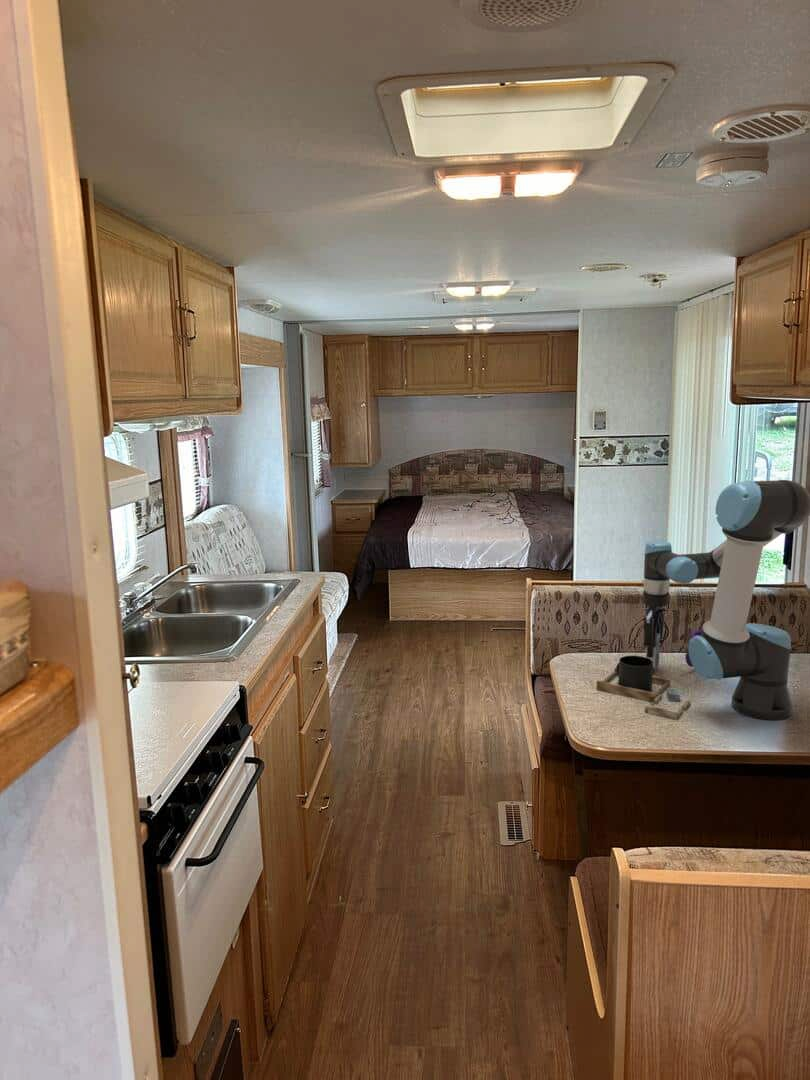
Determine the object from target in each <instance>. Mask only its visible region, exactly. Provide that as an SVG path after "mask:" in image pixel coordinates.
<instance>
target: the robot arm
mask: <svg viewBox="0 0 810 1080" xmlns="http://www.w3.org/2000/svg"><path fill="white" fill-rule="evenodd" d="M715 514H716V515H717V516H716V520H717V523H718V524H719V526H720V527H721V533H722V534H723V535H724V536H725V538H726V539H725V540H724V541H723V542H721V543H720V544H719V545H718V546H716V547H714V549H712V550H711V551H709V552H700V553H699V552H698V553H685V554H682V553H681V554H678V553H675V552H673V549H672V544H671V542H669V541H666V540H665V541H664V540H650V541H647V542H646V544H645V550H644V551H645V552H644V560H643V561H644V564H643V565H644V566H643V579H642V583H643V589H642V590H644V591H643V592H642V603H643V605H644V606H645V605H646V606H647V607H648V608H647V610H646V614H645V615H646V616H645V615H644V617H643V623H644V626H643V627H644V631H643V634H644V636H643V644H642V645H643V646H644V647H646V648H645V657H646V658H648V659H650V660H652V661H653V668H654V667H655V657H656V647H655V640H656V633H660V644H663V643H664V640H663V639H664V625H665V615H666V607H667V606H669V599H670V593H669V592H670V586H671V585H670V584H671V583H670V581H673V582H675V583H678V584H683V585H686V584H687V585H688V584H690V583H692V582H693V581H695V580H703V579H717V580H718V581H717V584H716V585H717V586H716V590H715V596H714V600H713V604H712V610H711V615H710V619H709V620H707V621H706V622H704V623H703V624H702V629H701V630H702V632H701V635H700V636H698V635H697V636H695V637H693V638H692V639H691V640H690V639H689V642H688V648H689V656H690V660H691V662H692V665H693V668H694V670H695V672H696V673H697V674H698V676H700V677H701V678H703V679H705V680H719V681H720V680H722V679H729V678H730V679H732V678H739V680H738V683H737V685H736V687H735V688H734V691H733V694H732V696H731V707H732V708H733V709H734V710H735V711H736V712H738V713H740V714H742V715H744V716H747V717H750V718H754V719H759V720H766V719H767V720H768V721H770V720H771V721H773V720H774V721H780V720H785V719H787V718H790V717H791V716H792V715H793V701H792V699H791V694H790V691H789V688H788V680H789V679H788V678H789V671H790V669H789V668H790V658H791V650H792V647H791V645H792V644H791V643H792V642H791V641H792V636H791V635H790V633H789V632H788V631H786V630H784V629H782V628H778V627H776V626H772V625H767V624H763V623H753V622H751V623H749V622H748V617H749V612H750V608H751V603H752V599H753V594H754V590H755V586H756V581H757V576H758V571H759V567H760V563H761V559H762V554H763V550H764V547H765V546H767V545H768V544H770V543H771V542H772V541H774V540H775V539H777V538H778V537H780V536H781V535H783V534H785V535H786V534H790V533H792V532H794V531H795V530H797V529H799V528H800V527H801V526H802V525H803V524H805V522H806V521H807V520H808V519H809V517H810V493H809V491H808V490H807V488H805V487H804V486H803V485H802V484H800V483H798V482H797V481H793V480H790V479H778V480H757V481H753V480H752V481H751V480H744V481H741V482H740V481H738V482H733V483H731V484H729V485H728V486H726V487H725V488H724V489H723V490H722V491H721V492H720V494H719V495H718V498H717V500H716V505H715ZM747 622H748V623H747ZM660 648H661V646H660V647H659V653H660Z"/></svg>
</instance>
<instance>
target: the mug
mask: <svg viewBox="0 0 810 1080" xmlns="http://www.w3.org/2000/svg"><path fill="white" fill-rule="evenodd" d="M615 668H616V670H617V673H618V675H619V676H618V683H617V685H621V686H626V687H630V688H635V689H639V690H644V691H649V692H652V691H653V683H652V678H653V676H654V675H653V674H654V673H653V661H652V660H650V659H648V658H646V656H641V655H625V656H622V657H620V658H619V661H618V663H617V664H616V667H615Z"/></svg>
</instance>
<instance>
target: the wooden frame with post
mask: <svg viewBox="0 0 810 1080" xmlns="http://www.w3.org/2000/svg"><path fill="white" fill-rule="evenodd" d="M655 647H656V657H655V667H654V668H653V674H656V673H657V672H659V664H660V652H659V647H660V648H661V643H660V633H656V640H655ZM616 677H619V675H618V673H617V670H616V667H615V668H614V671H613V672H612V673H611V674H610V675H608V676H606V678H605V679H603V680H597V681H596V691H602V692H605V693H608V694H609V693H610V694H613V695H614V694H615V695H619V696H623V697H626V698H627V697H628V698H633V699H637V700H640V701H645V702H650V703H651V702H654V699H655V698H656V697H657V696H658V695H659V694H662V695H663V693H664V692H665V691H667V688H670V685H671V679H670V678H667V677H661V676H656V675H653V678H652V684H654V685H660V686H661V687H660V688H659V689H657V690H656V692H649V691H644V690H639V689H635V688H630V687H626V686H621V685H618V683H612V682H611V681H612V680H614V679H615V678H616Z"/></svg>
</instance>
